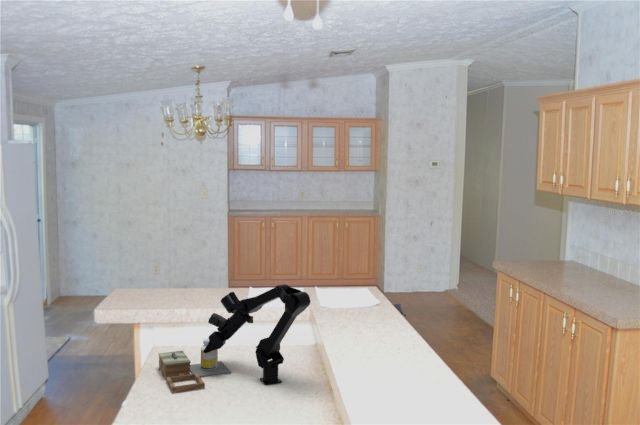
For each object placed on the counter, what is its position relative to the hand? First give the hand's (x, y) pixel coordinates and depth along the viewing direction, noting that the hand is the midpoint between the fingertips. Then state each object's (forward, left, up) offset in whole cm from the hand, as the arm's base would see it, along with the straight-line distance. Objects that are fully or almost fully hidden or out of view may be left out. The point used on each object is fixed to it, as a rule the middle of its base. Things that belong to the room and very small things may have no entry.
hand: (207, 348), depth 214 cm
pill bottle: (0, -1, -8) cm, 8 cm away
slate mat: (0, 0, -8) cm, 8 cm away
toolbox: (-5, +12, -8) cm, 15 cm away
